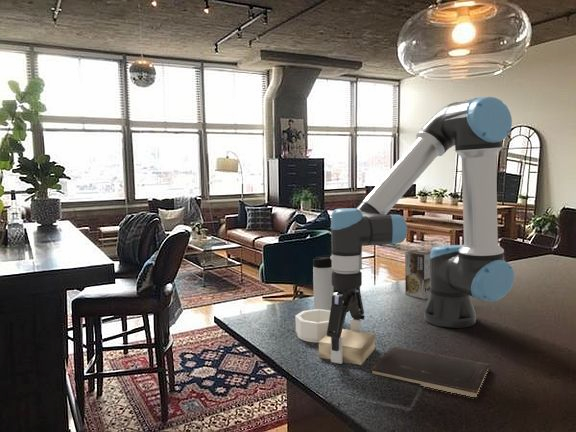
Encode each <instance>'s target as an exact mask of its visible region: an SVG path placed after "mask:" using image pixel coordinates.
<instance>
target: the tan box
mask: <svg viewBox="0 0 576 432" xmlns="http://www.w3.org/2000/svg"><path fill="white" fill-rule="evenodd" d="M341 337H342V344H343V362H344V363H348V362H349V364H353V363H355V364H356V365H359V364H360V366H361V364H363V363H364V362H365V361H366V358H369V356H371V354H372V353H373V352H374V350H375V349H376V334H375V333H373V332H367V331H361V332H360V331H354V330H350V329H346V328H345V329H344V328H343V329H342V333H341ZM372 351H373V352H372ZM318 357H319V358H320V357H321V359H326V358H327V359H326V360H331V337H328V336H327V335H326V336H325V337H324V338H323V339H321V340H320V341H319V343H318ZM355 364H354V365H355Z"/></svg>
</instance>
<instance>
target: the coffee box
mask: <svg viewBox="0 0 576 432" xmlns="http://www.w3.org/2000/svg"><path fill="white" fill-rule="evenodd" d="M404 253H405V254H404V260H405V261H404V263H405V264H404V272H405V275H404V276H405V280H404V281H405V282H404V284H405V295H407V296H411V297H415V298H419V299H422V300H426V299H427V300H428V298H429V295H430V253H431V251H428V250H420V249H412V250H409V251H405V252H404Z"/></svg>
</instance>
